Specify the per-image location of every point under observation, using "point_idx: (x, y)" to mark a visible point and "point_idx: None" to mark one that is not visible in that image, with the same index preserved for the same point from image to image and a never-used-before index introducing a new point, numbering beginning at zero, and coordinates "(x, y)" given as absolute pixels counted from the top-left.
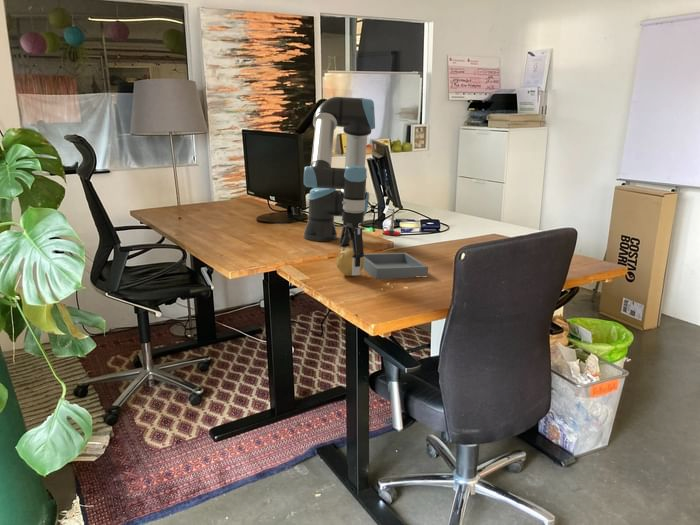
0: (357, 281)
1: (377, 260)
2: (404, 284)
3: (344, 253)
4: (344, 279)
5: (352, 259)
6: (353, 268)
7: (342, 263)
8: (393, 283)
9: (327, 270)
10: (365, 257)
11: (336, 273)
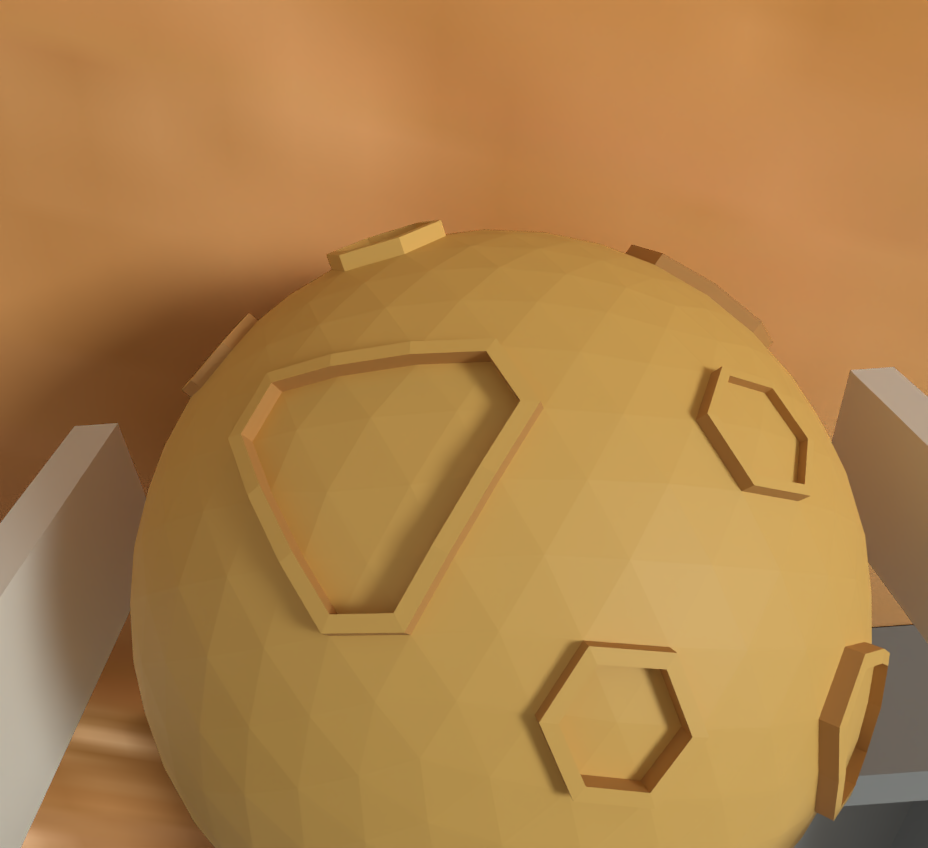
0: (145, 445)
1: (923, 830)
2: (117, 844)
3: (324, 637)
4: (237, 262)
5: (140, 677)
6: (5, 531)
7: (226, 367)
8: (134, 779)
9: (897, 39)
10: (893, 798)
11: (637, 195)
